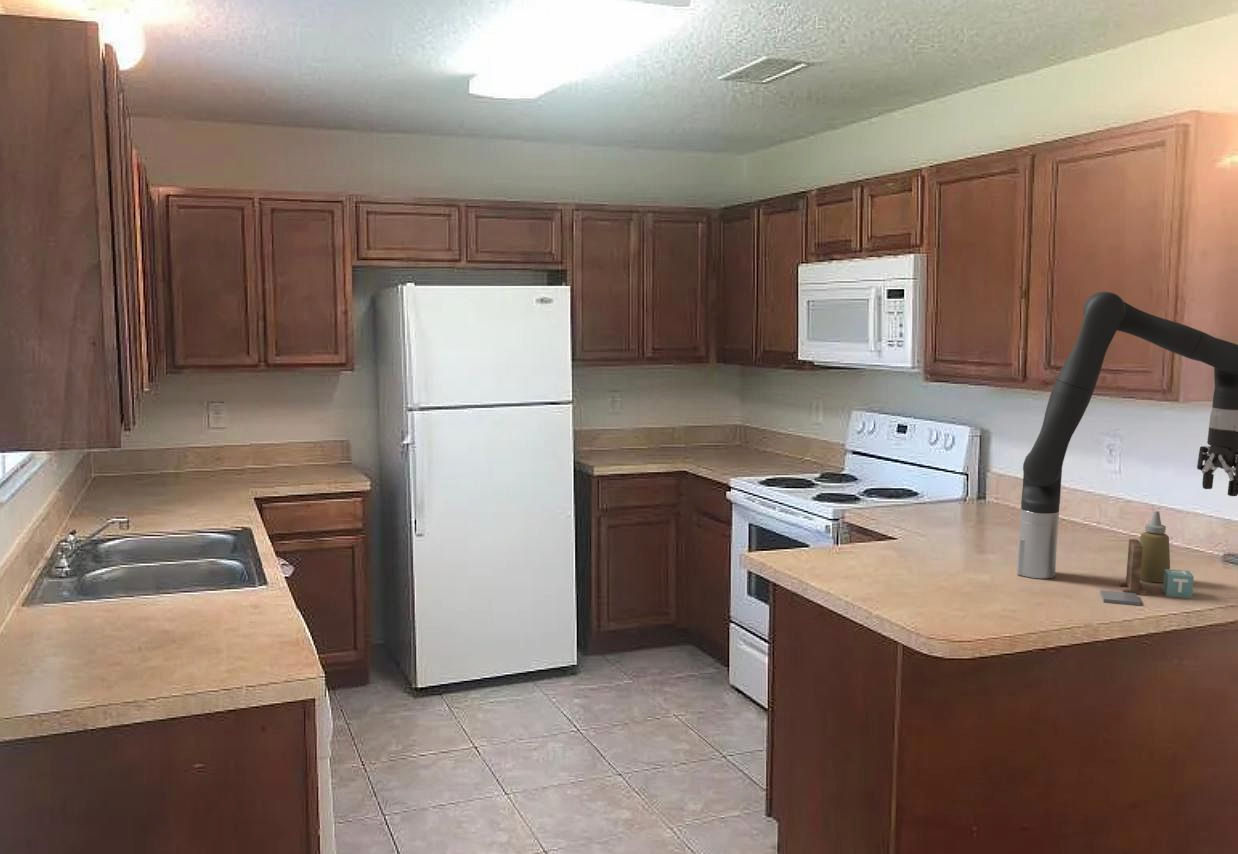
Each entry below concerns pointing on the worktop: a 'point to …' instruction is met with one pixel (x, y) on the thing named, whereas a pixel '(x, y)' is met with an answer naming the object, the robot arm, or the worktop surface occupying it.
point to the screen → (1133, 569)
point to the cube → (1178, 583)
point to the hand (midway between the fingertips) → (1219, 492)
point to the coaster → (1120, 597)
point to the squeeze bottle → (1154, 550)
